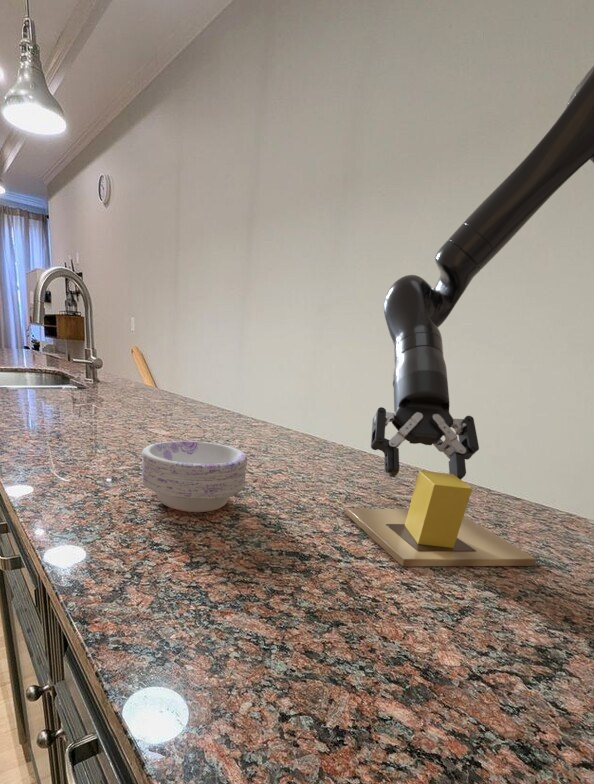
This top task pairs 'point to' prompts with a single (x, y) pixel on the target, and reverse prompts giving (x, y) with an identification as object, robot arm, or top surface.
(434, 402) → the robot arm
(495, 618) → the top surface
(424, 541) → the yellow block
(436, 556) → the board
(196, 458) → the paper bowls
